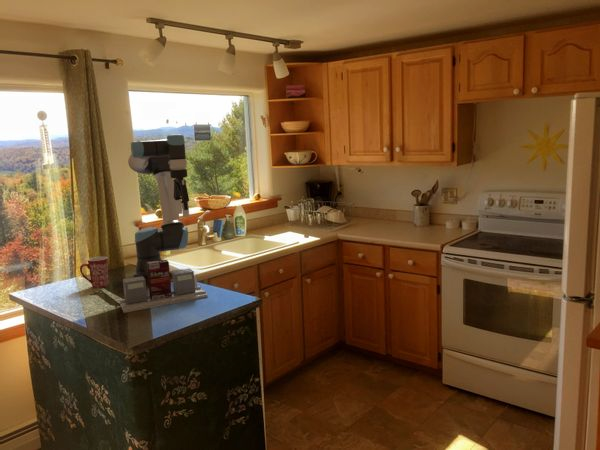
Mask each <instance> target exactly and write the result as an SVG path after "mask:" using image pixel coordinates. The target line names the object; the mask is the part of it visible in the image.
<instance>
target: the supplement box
mask: <svg viewBox="0 0 600 450" xmlns="http://www.w3.org/2000/svg"><path fill="white" fill-rule="evenodd" d="M146 264H147V275H148V276H147V286H148V294H149V296H150V299H151V300H155V299H161V298H166V297H172V292H171V291H172V283H171V272H170V262H169V260H168V259H163V260H160V261H153V262H147V263H146Z"/></svg>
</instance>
